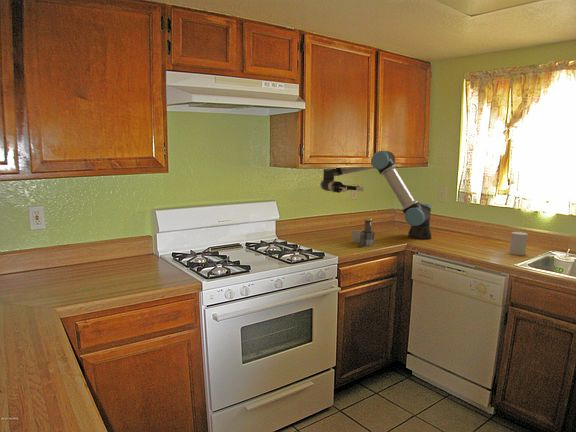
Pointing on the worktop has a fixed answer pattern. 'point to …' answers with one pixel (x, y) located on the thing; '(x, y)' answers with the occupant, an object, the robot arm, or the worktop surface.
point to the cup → (518, 243)
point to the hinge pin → (368, 225)
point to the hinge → (363, 238)
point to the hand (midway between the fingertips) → (354, 189)
